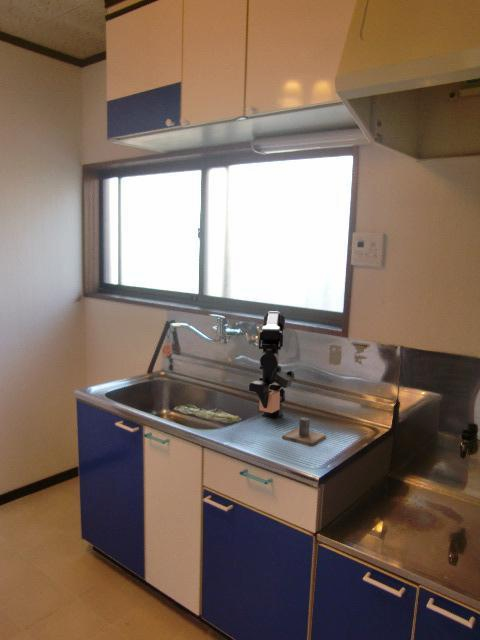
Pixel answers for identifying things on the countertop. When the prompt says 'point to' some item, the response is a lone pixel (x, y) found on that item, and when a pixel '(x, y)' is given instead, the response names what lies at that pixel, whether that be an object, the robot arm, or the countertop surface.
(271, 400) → the salmon orange block
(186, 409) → the stone wall
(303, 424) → the stand
